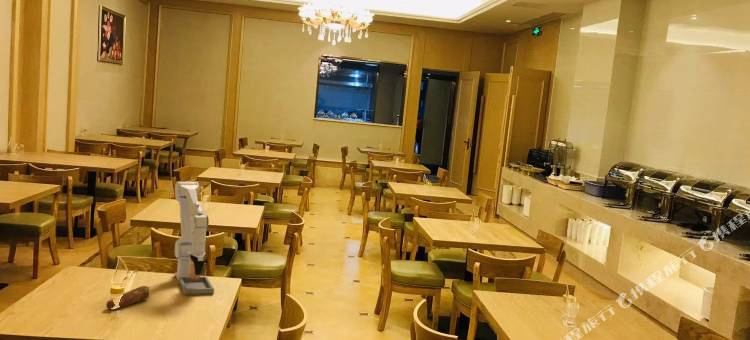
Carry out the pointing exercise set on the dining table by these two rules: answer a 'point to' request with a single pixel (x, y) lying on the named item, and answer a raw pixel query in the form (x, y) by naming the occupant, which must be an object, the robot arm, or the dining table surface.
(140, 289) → the bread
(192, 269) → the cup
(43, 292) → the dining table surface
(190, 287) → the serving tray
